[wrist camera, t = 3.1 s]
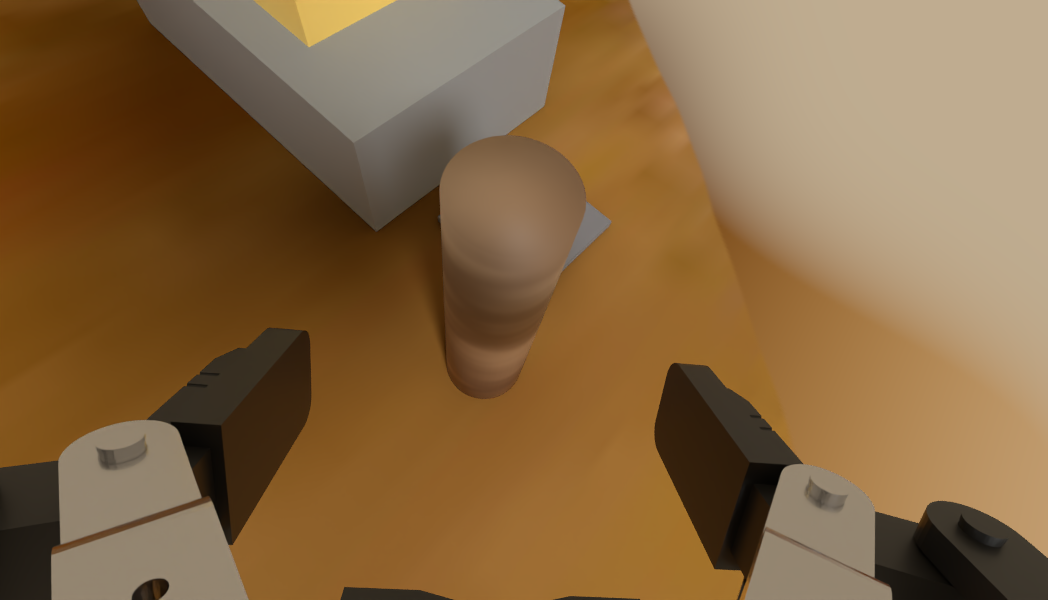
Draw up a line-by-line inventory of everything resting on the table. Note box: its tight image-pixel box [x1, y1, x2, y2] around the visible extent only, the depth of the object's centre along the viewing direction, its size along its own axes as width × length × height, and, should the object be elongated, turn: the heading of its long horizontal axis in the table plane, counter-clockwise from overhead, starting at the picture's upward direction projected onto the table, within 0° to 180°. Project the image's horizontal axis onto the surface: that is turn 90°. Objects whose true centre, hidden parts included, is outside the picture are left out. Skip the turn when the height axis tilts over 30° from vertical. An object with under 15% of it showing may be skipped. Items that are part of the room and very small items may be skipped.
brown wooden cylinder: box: [439, 135, 586, 399], centre depth 16 cm, size 3×3×12 cm
